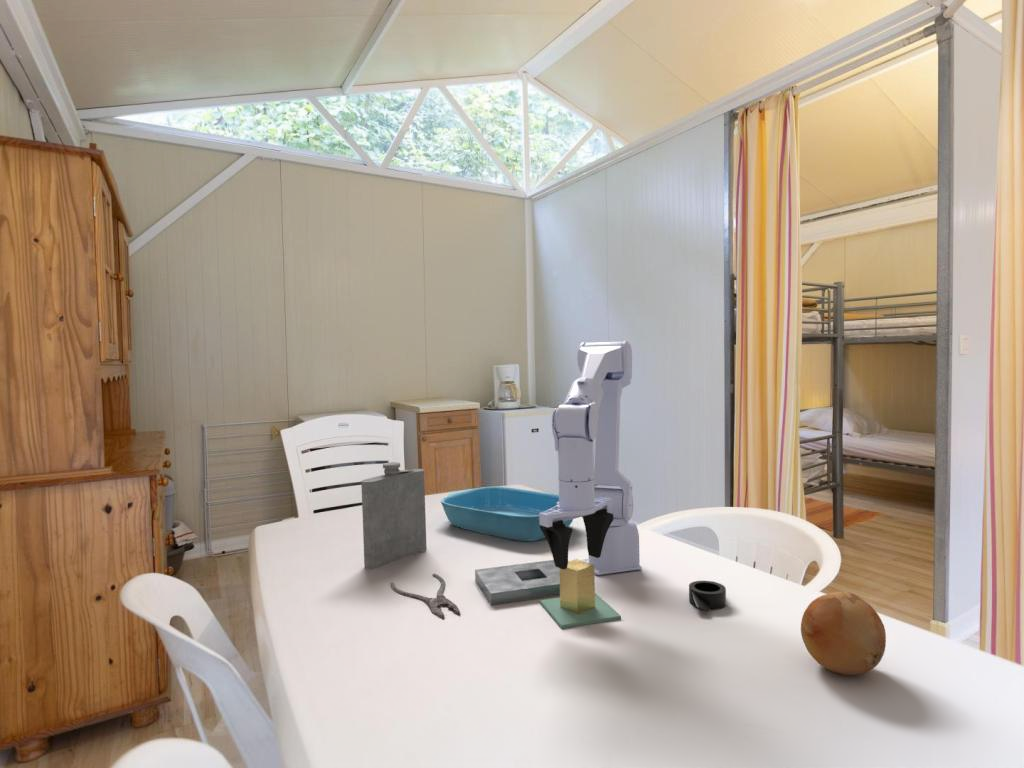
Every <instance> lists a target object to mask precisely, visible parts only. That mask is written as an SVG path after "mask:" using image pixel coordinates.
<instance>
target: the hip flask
mask: <svg viewBox="0 0 1024 768" xmlns="http://www.w3.org/2000/svg"><path fill="white" fill-rule="evenodd" d="M399 468H401V463H400V462H397V461H396V462H385V463H383V464H382V469H384V470H383V472H384V474H382V475H378V476H374V477H373V476H372V477H369V478H366V479H362V480H361V482H360V483H361V484H360V486H361V506H362V508H361V509H362V510H361V511H362V513H361V514H362V532H363V533H362V535H363V538H362V539H363V558H364V559H363V560H364V561H363V562H364V564H363V565H364V569H367V570H368V569H369V570H373V569H377V568H378V569H379V567H382V566H384V565H386V564H389V563H391V562H394V561H396V560H399V559H402V558H404V557H407V556H410V555H413V554H418V553H421V552H424V551H426V550H427V521H426V519H427V518H426V497H425V496H426V495H425V494H426V491H425V490H426V489H425V469H423V468H413V469H412V468H411V469H408V468H407V469H399Z"/></svg>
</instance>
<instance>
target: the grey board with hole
mask: <svg viewBox="0 0 1024 768" xmlns="http://www.w3.org/2000/svg"><path fill="white" fill-rule="evenodd" d="M569 561H570V560H568V562H569ZM474 578H475V579H474V580H475V583H476V584H477V585H478V587H479V588H480V590H481V592H482V593H483V595H484V597H485V598H486V600H487V601H488V603H489V605H490V606H495V605H502V604H503V605H504V604H508V603H516V602H522V601H523V602H524V601H530V600H537V599H543V598H544V599H545V598H551V597H552V598H553V597H556V596H557V597H558V596H560V574H559V568H558V567H555V563H554V559H549V560H541V561H533V562H526V563H517V564H511V565H503V566H495V567H486V568H479V569H478V568H477V569H474Z"/></svg>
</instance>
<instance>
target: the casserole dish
mask: <svg viewBox="0 0 1024 768" xmlns="http://www.w3.org/2000/svg"><path fill="white" fill-rule="evenodd" d="M557 502H559V494H554V493H548V492H542V491H541V492H540V491H535V490H529V489H528V490H527V489H523V488H522V489H521V488H515V487H507V486H483V487H478V488H471V489H468V488H467V489H464V490H463V489H462V490H459V491H455V492H451V493H449V494H448V495H447V496H445V497H443V498H442V499H441V500H440V503H441V505H442V508H443V511H444V513H445V516H446V519H448V521H449V522H450V524H451V525H453V526H455V527H457V528H459V527H460V529H463V530H467V531H472V532H475V533H479V532H480V534H484V535H489V536H493V535H494V536H493V537H498V538H503V539H508V540H513V541H514V540H515V541H522V542H536V541H540V540H543V539H546V537H545V536H544V534H543V532H542V531H541V529H540V521H539V513H541V512H544V511H547V510H549V509H551V508H553V507H555V506H557ZM573 520H574V519H571V520H568V521H564V522H563V524H565V527H570V525H571V524H572V523H573Z"/></svg>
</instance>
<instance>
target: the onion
mask: <svg viewBox="0 0 1024 768" xmlns="http://www.w3.org/2000/svg"><path fill="white" fill-rule="evenodd" d="M800 633H801V639H802V642H803V643H804V646H805V648H806V650H807V653H809V655H810V656H811V657H812V658H813V659H814V660H815V661H816V663H818V664H819V665H820V667H823V668H824V669H826V670H828V671H830V672H833V673H834V674H837V675H838V674H839V675H843V676H851V675H863V674H866V673H868V672H870V671H871V670H873V669H875V668H876V667H877V666H878V665H879V664H880V662H882V659H883V656H884V654H885V651H886V642H887V641H886V640H887V636H886V635H887V634H886V629H885V624H884V622H883V621H882V619H881V617H880V615H879V614H878V612H877V611H876V609H874V607H873V606H872V605H871V604H869V602H867V601H866V600H864V599H863V598H861V597H860V596H859V595H857V594H855V593H852V592H848V591H835V592H828V593H825V594H823V595H821V596H820V595H819V596H818V597H817V598H814V599H813V600H812V601H811V602H810V603H809V604H808V606H806V609H805V610H804V612H803V613H802V618H801V623H800Z"/></svg>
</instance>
